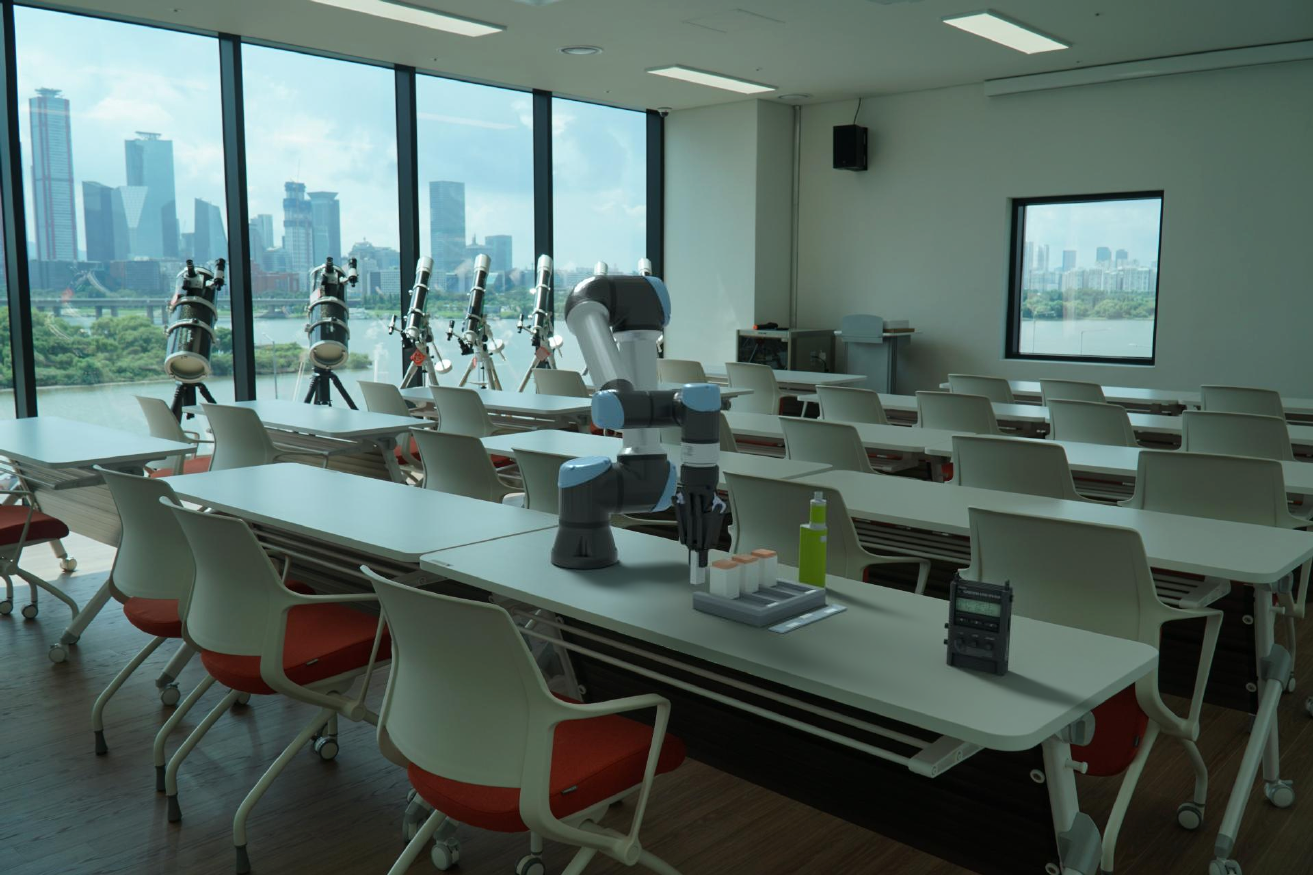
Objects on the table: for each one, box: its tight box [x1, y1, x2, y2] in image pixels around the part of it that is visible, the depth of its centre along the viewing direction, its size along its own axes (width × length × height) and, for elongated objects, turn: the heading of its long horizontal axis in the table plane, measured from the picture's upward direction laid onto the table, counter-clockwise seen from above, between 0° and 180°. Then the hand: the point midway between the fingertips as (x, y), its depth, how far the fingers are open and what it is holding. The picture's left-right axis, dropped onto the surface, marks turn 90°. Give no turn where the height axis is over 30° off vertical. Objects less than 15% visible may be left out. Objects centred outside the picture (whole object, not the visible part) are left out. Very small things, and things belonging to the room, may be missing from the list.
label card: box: [768, 603, 848, 634], centre depth 185 cm, size 3×21×1 cm, turn 137°
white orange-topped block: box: [750, 548, 778, 587], centre depth 199 cm, size 4×4×7 cm
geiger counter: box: [943, 571, 1015, 677], centre depth 160 cm, size 10×4×15 cm, turn 56°
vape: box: [797, 491, 828, 589], centre depth 206 cm, size 4×6×20 cm, turn 37°
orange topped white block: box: [709, 558, 740, 599], centre depth 191 cm, size 4×4×7 cm
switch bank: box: [692, 576, 827, 628], centre depth 193 cm, size 16×21×3 cm
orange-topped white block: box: [731, 553, 759, 593], centre depth 195 cm, size 4×4×7 cm
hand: (697, 582), depth 195 cm, fingers closed
